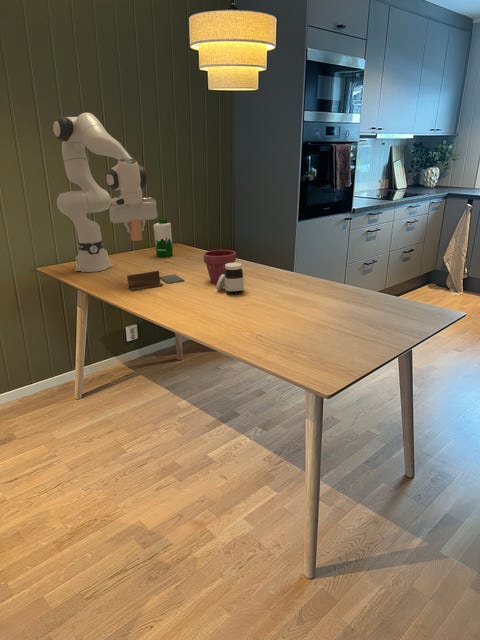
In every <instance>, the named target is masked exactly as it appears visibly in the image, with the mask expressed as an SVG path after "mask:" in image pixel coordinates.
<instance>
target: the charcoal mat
mask: <svg viewBox="0 0 480 640" xmlns="http://www.w3.org/2000/svg"><path fill="white" fill-rule="evenodd" d="M160 281H162V282H163V283H164V282H165V284H167V285H171V284H176V283H180V282H181V283H182V282H185V279H184V278H183V277H180V276H179V275H177V274H176V273H175V274H169V275H163V276H160Z"/></svg>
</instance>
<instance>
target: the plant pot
mask: <svg viewBox="0 0 480 640" xmlns="http://www.w3.org/2000/svg"><path fill="white" fill-rule="evenodd" d="M236 254H237V253H236V251H234V250H229V249H214V250H209V251H205V252H204V253H203V263H205V265H206V269H207V272H208V276H209V278H210V279H209V280H210V282H211V283H212V284H213V283H214V284H217V282H218V279H219V278H220V276H221V275H222V274H224V275H225V264H227V263H236V261H237V255H236Z"/></svg>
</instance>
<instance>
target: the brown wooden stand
mask: <svg viewBox="0 0 480 640" xmlns="http://www.w3.org/2000/svg"><path fill="white" fill-rule="evenodd" d="M160 277H161V276H160V271H159V270H155V271H149V272H148V271H147V272H141V273H136V274H135V273H134V274H129V275H128V274H127V275H126V278H127V279H126V280H127V287H128V288H127V289H128V290H129V291H130V292H137V291H143V290H148V289H154V288H159V287H164V284H163V283H161V279H160Z"/></svg>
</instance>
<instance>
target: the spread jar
mask: <svg viewBox="0 0 480 640" xmlns="http://www.w3.org/2000/svg"><path fill="white" fill-rule="evenodd" d="M215 287H216V290H218V291H221V290H223V288H224V291H225V293H226V294H228V295H240V294H243V293H244V290H245V287H244V271H243V264H242V262H234V263H227V264H225V275H224V274H222V275H221V276H220V278H219V279H218V282H217V283H216V286H215Z"/></svg>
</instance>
